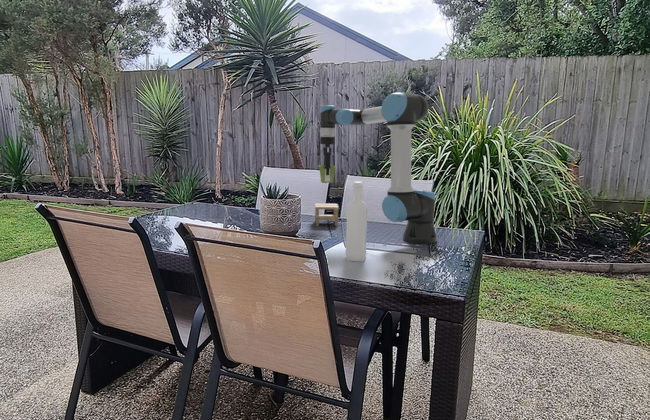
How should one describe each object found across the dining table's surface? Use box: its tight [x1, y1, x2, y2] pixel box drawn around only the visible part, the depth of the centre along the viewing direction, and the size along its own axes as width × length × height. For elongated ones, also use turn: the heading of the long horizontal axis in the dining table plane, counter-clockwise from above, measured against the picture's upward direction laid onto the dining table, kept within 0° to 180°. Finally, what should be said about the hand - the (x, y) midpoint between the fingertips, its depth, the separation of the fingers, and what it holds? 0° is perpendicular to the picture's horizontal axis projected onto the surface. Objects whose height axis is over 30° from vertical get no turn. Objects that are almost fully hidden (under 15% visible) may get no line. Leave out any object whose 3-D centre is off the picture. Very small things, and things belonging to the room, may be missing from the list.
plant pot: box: [317, 164, 337, 184], centre depth 225 cm, size 9×9×9 cm
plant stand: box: [314, 202, 340, 227], centre depth 229 cm, size 12×12×10 cm
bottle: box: [345, 181, 368, 263], centre depth 165 cm, size 8×8×30 cm
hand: (326, 180), depth 225 cm, fingers closed on plant pot, 9 cm apart
